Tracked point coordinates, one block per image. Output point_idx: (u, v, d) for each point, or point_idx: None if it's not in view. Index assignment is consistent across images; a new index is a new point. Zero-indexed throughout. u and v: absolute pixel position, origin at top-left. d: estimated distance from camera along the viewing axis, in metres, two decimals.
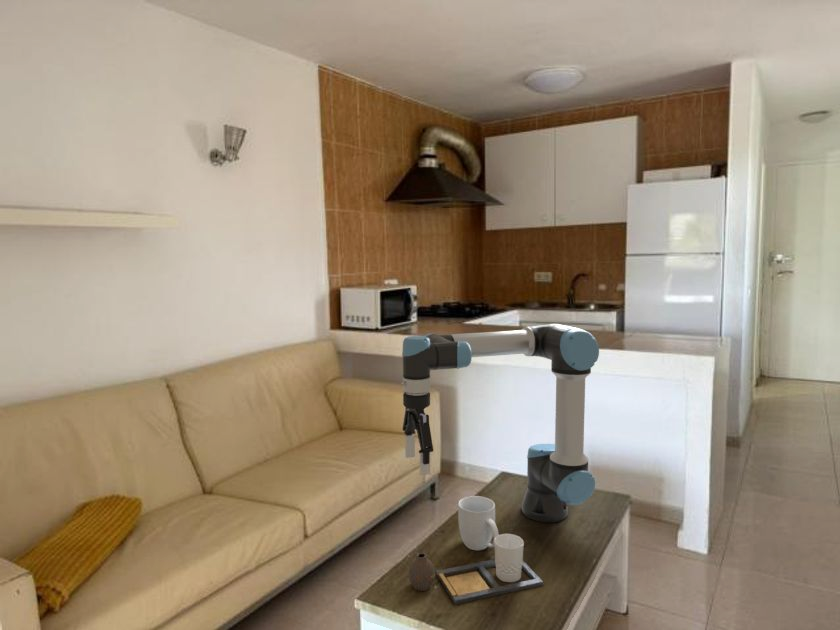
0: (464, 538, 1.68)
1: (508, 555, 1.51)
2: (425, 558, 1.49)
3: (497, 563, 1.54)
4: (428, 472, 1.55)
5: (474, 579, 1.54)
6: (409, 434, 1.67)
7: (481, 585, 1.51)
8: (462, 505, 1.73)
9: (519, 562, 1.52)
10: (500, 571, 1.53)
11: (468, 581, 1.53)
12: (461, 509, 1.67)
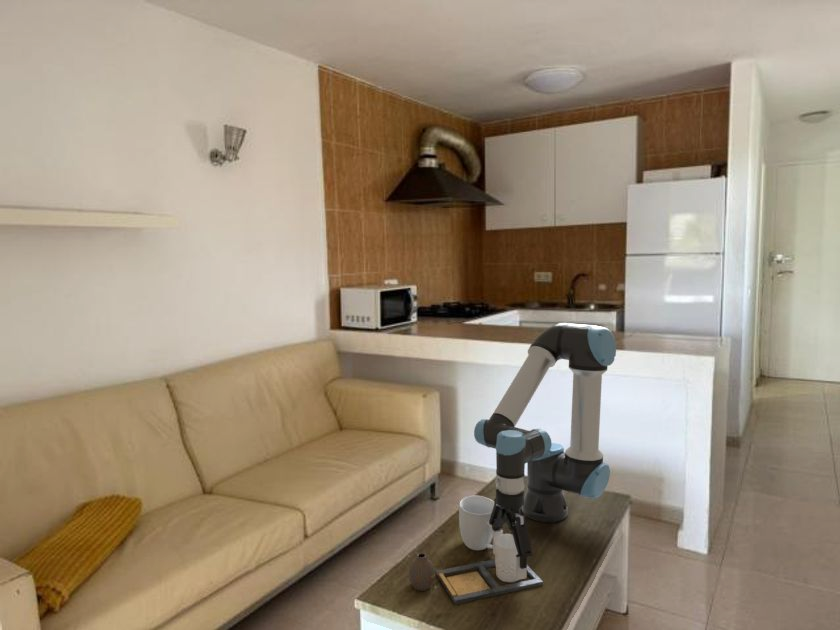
0: (464, 538, 1.68)
1: (508, 555, 1.51)
2: (425, 558, 1.49)
3: (497, 563, 1.54)
4: (524, 576, 1.48)
5: (474, 579, 1.54)
6: (497, 529, 1.60)
7: (481, 585, 1.51)
8: (463, 505, 1.72)
9: None
10: (500, 571, 1.53)
11: (468, 581, 1.53)
12: (462, 510, 1.67)
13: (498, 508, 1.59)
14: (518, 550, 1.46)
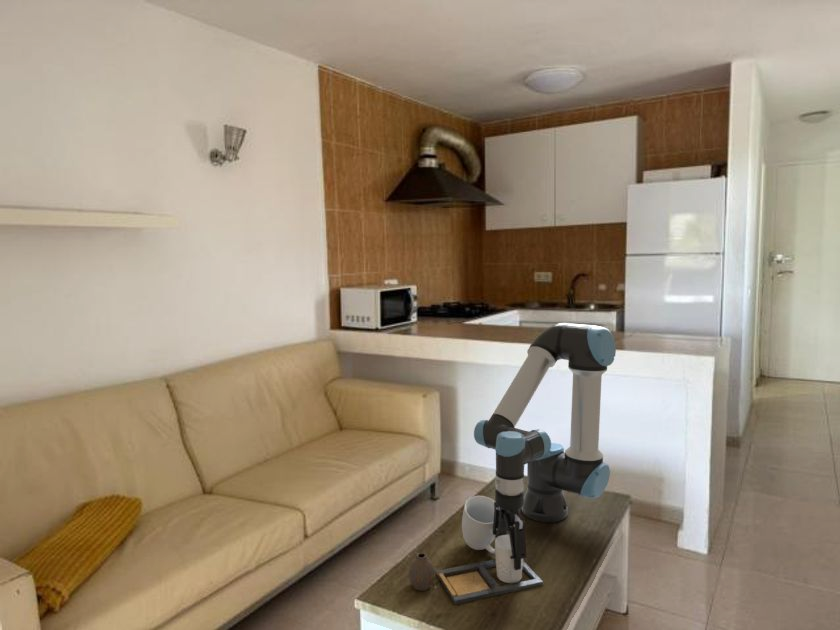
0: (466, 539, 1.67)
1: (508, 556, 1.51)
2: (425, 558, 1.49)
3: (498, 564, 1.53)
4: (519, 577, 1.51)
5: (474, 579, 1.54)
6: None
7: (481, 585, 1.51)
8: (468, 505, 1.68)
9: None
10: (501, 572, 1.53)
11: (468, 581, 1.53)
12: (467, 515, 1.63)
13: (499, 513, 1.58)
14: (513, 552, 1.49)
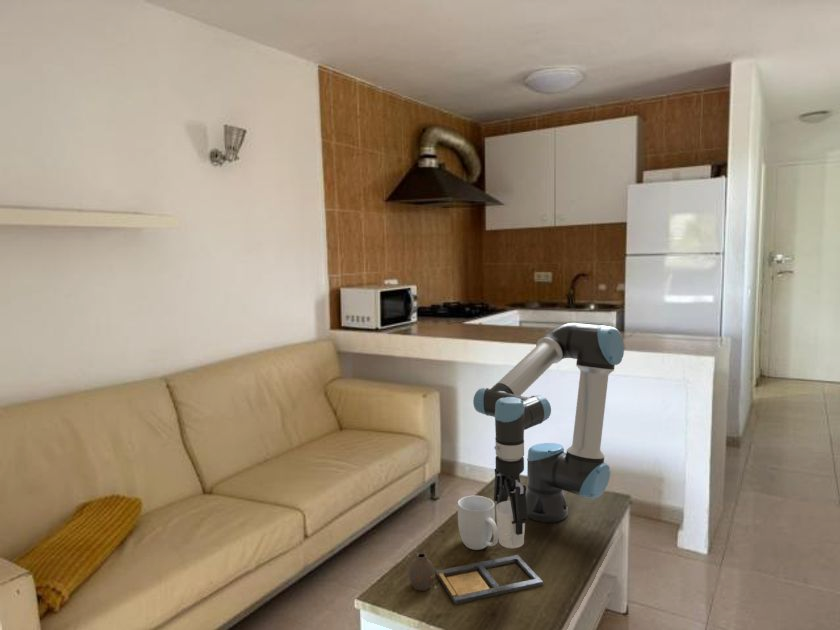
0: (464, 537, 1.68)
1: (510, 521, 1.50)
2: (425, 558, 1.49)
3: (499, 529, 1.53)
4: (520, 542, 1.51)
5: (474, 579, 1.54)
6: None
7: (481, 585, 1.51)
8: (461, 505, 1.73)
9: None
10: (502, 537, 1.52)
11: (468, 581, 1.53)
12: (461, 508, 1.68)
13: (499, 479, 1.58)
14: (514, 517, 1.49)
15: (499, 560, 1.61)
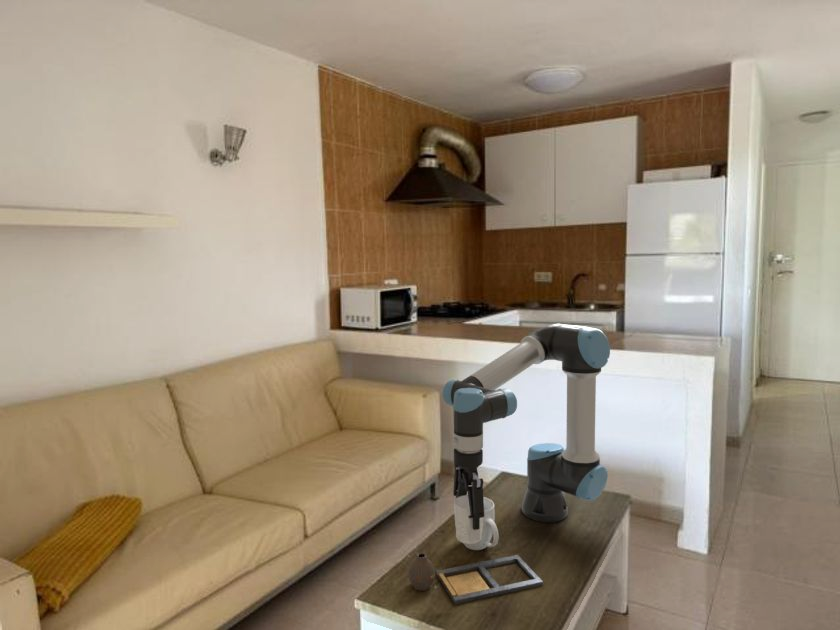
0: None
1: (467, 516, 1.46)
2: (425, 558, 1.49)
3: (457, 524, 1.48)
4: (478, 537, 1.46)
5: (474, 579, 1.54)
6: None
7: (481, 585, 1.51)
8: None
9: None
10: (460, 532, 1.48)
11: (468, 581, 1.53)
12: None
13: (459, 473, 1.53)
14: (471, 511, 1.44)
15: (499, 560, 1.61)
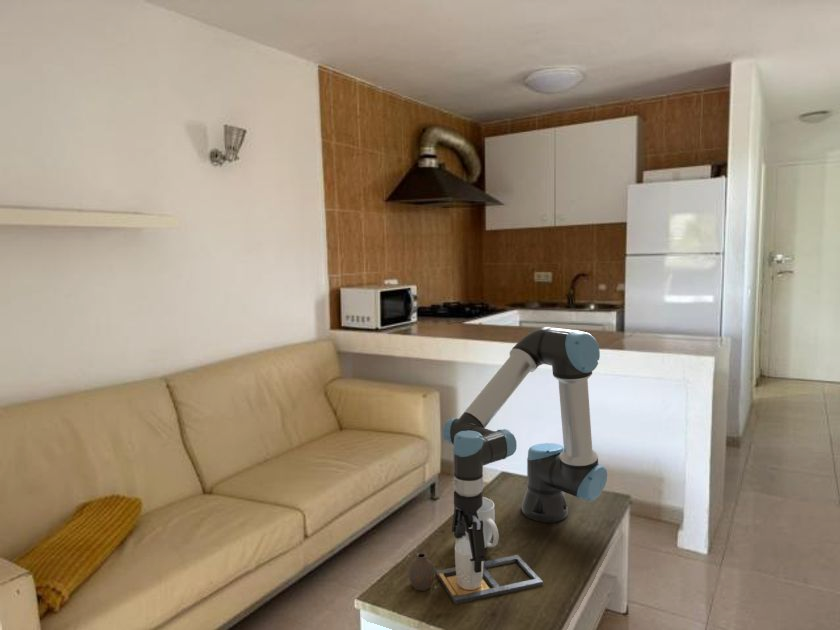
0: None
1: (467, 562, 1.47)
2: (425, 558, 1.49)
3: (457, 570, 1.50)
4: (479, 580, 1.46)
5: None
6: (460, 536, 1.56)
7: (481, 585, 1.51)
8: None
9: None
10: (460, 578, 1.49)
11: None
12: None
13: (458, 512, 1.55)
14: (473, 554, 1.45)
15: (499, 560, 1.61)
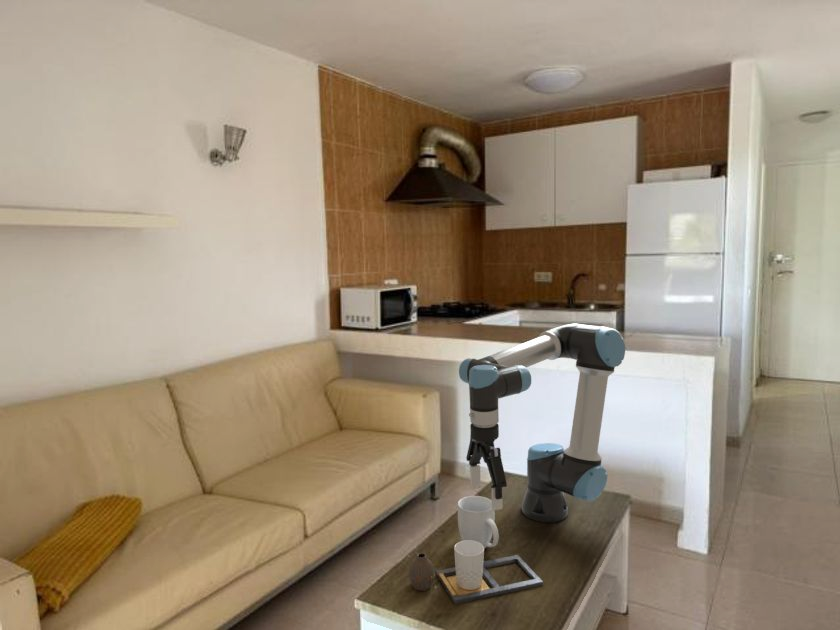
0: (464, 538, 1.68)
1: (467, 562, 1.47)
2: (425, 558, 1.49)
3: (457, 570, 1.50)
4: (500, 507, 1.49)
5: None
6: (474, 465, 1.61)
7: (481, 585, 1.51)
8: (461, 505, 1.73)
9: (479, 569, 1.49)
10: (460, 578, 1.49)
11: None
12: (461, 509, 1.67)
13: (474, 443, 1.59)
14: (493, 481, 1.47)
15: (499, 560, 1.61)
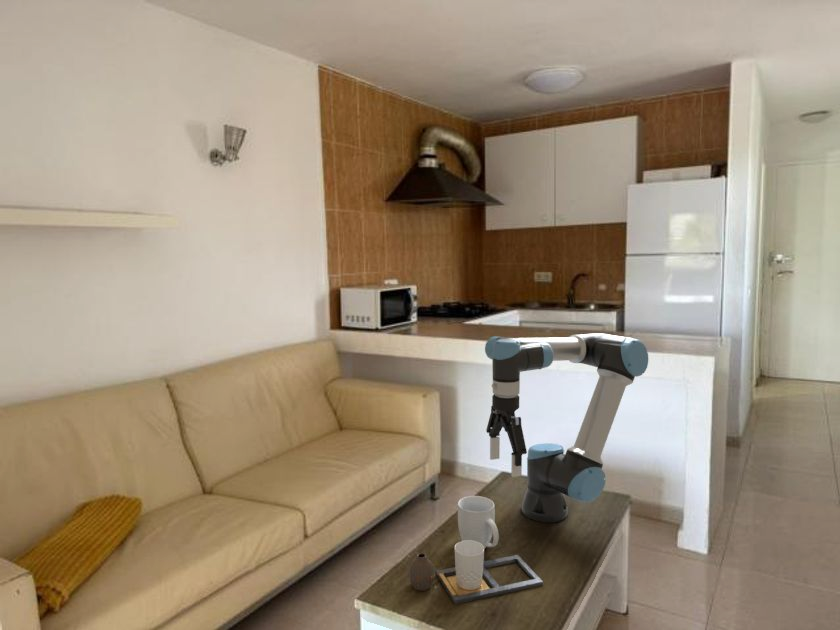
0: (464, 538, 1.68)
1: (467, 562, 1.47)
2: (425, 558, 1.49)
3: (457, 570, 1.50)
4: (519, 474, 1.56)
5: None
6: (494, 436, 1.68)
7: (481, 585, 1.51)
8: (461, 505, 1.73)
9: (479, 569, 1.49)
10: (460, 578, 1.49)
11: None
12: (461, 509, 1.67)
13: (495, 415, 1.67)
14: (513, 449, 1.54)
15: (499, 560, 1.61)
